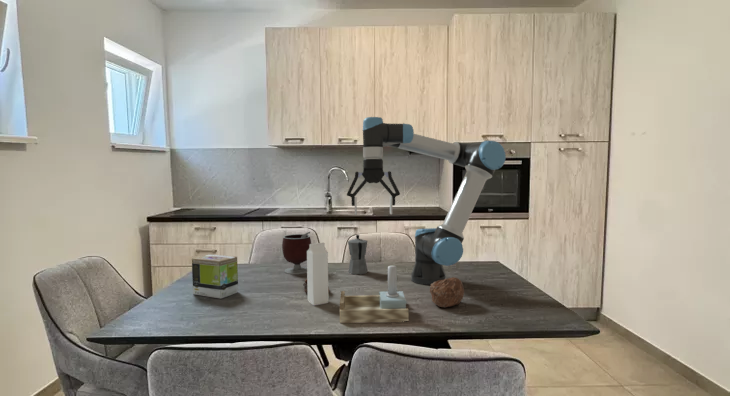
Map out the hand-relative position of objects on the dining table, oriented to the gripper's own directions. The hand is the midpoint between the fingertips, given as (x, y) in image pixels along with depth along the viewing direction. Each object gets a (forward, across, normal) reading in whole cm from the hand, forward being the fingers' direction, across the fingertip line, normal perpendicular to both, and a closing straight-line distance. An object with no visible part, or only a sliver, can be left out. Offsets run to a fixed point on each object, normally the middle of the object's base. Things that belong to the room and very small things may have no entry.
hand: (373, 214), depth 150 cm
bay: (+32, +1, +18) cm, 37 cm away
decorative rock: (+32, -26, +12) cm, 43 cm away
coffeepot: (+32, +6, -34) cm, 47 cm away
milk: (+32, +21, +7) cm, 39 cm away
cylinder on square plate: (+30, -5, +20) cm, 37 cm away
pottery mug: (+32, +22, -5) cm, 39 cm away
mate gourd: (+32, +35, -38) cm, 61 cm away
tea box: (+32, +63, -5) cm, 71 cm away
